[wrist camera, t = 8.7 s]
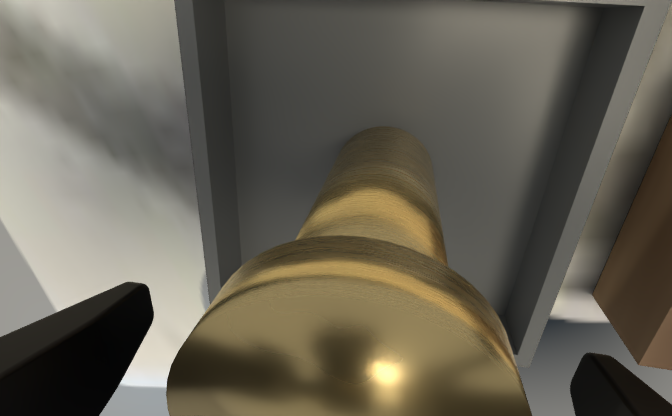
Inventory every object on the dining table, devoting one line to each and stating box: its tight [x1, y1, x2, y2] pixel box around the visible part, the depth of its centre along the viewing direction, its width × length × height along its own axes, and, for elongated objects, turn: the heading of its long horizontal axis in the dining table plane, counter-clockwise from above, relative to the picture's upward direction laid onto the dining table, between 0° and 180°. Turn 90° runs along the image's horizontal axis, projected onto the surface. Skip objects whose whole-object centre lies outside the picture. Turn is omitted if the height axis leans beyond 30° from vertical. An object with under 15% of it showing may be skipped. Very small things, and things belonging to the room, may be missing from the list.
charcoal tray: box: [174, 0, 672, 368], centre depth 15 cm, size 14×14×3 cm
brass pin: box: [166, 126, 532, 416], centre depth 11 cm, size 6×6×12 cm
